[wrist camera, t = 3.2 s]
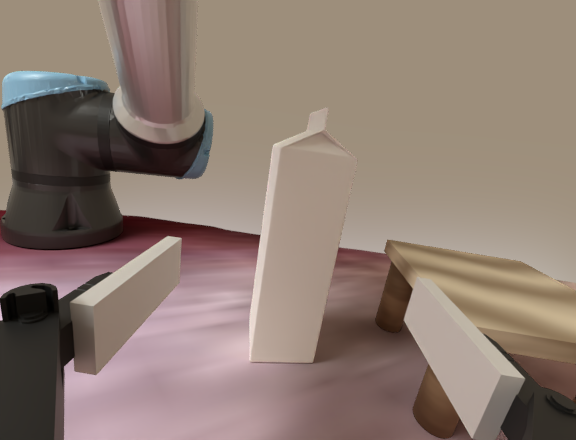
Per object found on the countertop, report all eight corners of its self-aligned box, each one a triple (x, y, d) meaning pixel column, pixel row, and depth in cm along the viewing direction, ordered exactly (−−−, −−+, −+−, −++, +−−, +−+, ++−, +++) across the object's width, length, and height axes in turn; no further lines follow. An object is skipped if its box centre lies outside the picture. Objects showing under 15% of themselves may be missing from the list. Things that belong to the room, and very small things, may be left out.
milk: (249, 363, 24) (284, 98, 18) (248, 320, 30) (275, 107, 24) (314, 364, 26) (368, 114, 19) (302, 321, 31) (341, 118, 25)
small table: (367, 311, 35) (387, 239, 33) (491, 332, 35) (521, 261, 33) (417, 440, 20) (462, 324, 17) (637, 478, 20) (716, 366, 17)
